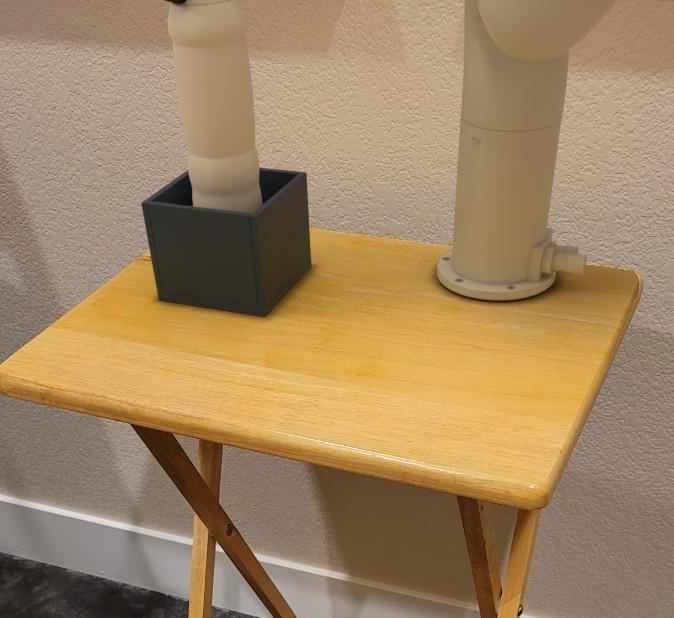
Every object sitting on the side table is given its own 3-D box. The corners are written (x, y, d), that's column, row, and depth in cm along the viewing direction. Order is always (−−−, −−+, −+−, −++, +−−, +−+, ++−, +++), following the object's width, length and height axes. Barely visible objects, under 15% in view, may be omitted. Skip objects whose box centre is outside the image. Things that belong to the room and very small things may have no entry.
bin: (311, 267, 98) (306, 172, 91) (265, 317, 89) (256, 216, 82) (212, 253, 101) (199, 161, 94) (158, 300, 93) (140, 202, 86)
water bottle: (253, 238, 88) (223, -75, 70) (186, 235, 89) (140, -74, 71) (271, 212, 93) (247, -88, 75) (207, 209, 94) (169, -87, 76)
